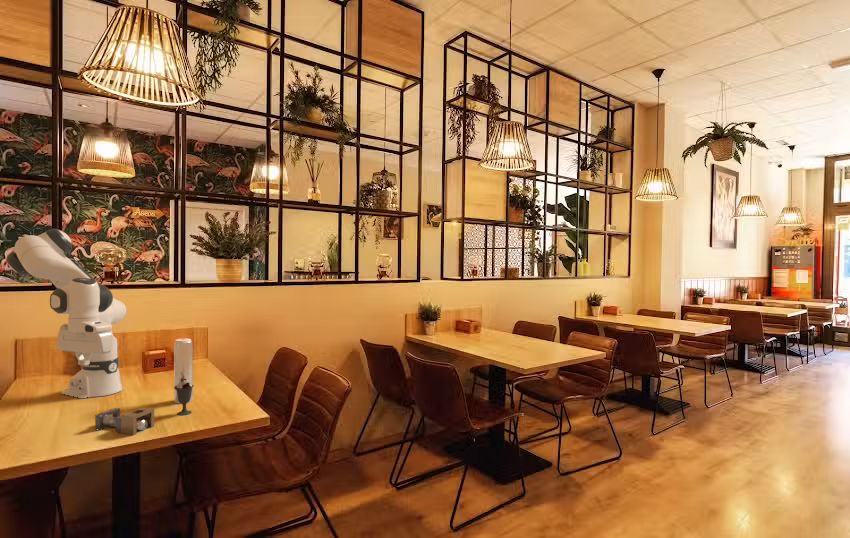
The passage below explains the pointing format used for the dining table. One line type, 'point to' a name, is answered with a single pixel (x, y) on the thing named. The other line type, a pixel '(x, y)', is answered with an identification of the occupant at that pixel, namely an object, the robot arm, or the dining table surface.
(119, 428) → the collar
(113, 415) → the collar
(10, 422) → the dining table surface
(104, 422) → the tube
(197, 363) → the dining table surface
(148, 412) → the aperture bridge
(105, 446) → the dining table surface
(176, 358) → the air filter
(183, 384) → the sundae
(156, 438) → the dining table surface
